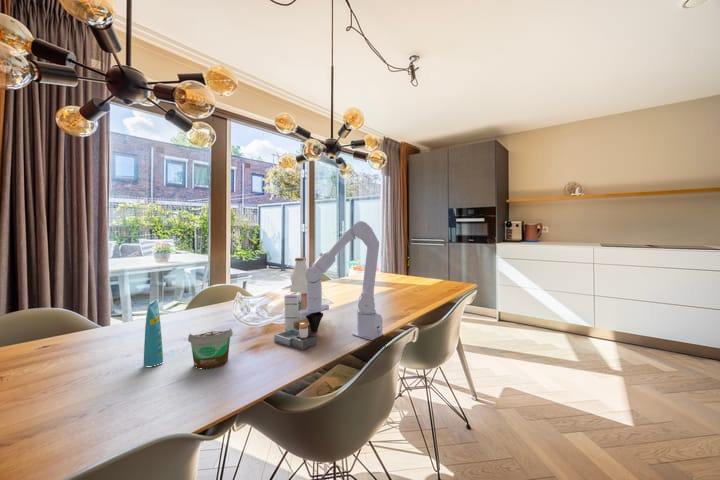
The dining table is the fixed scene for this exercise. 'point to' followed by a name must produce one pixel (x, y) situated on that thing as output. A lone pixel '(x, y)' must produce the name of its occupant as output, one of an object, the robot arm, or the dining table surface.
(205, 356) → the food container
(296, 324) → the chock
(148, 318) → the tube
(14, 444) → the dining table surface
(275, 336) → the tray
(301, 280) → the fruit juice
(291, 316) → the syrup box
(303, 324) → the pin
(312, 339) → the socket
